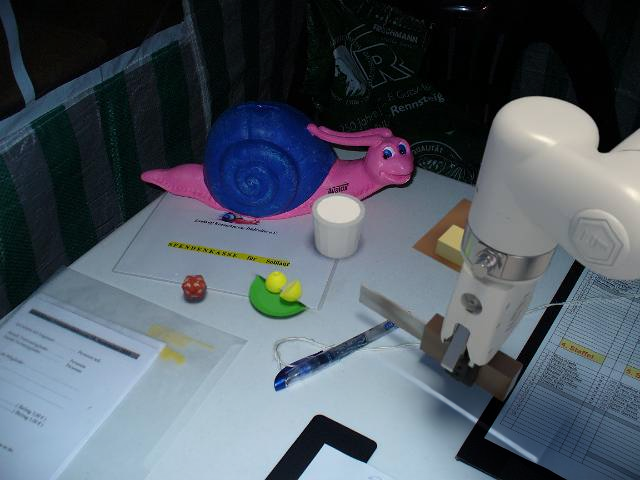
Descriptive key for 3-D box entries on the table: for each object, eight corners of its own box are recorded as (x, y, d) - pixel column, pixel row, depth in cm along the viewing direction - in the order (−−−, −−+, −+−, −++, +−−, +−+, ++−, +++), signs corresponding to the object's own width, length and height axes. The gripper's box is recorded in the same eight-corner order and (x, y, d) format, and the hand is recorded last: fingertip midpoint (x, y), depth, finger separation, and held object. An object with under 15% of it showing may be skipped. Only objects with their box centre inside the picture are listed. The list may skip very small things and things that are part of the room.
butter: (489, 258, 78) (494, 244, 77) (474, 274, 76) (478, 260, 74) (450, 237, 81) (453, 224, 80) (434, 253, 79) (437, 239, 77)
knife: (513, 386, 62) (523, 364, 59) (502, 402, 60) (512, 379, 57) (365, 295, 70) (368, 271, 67) (353, 307, 69) (355, 283, 66)
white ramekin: (349, 227, 84) (352, 187, 79) (370, 259, 79) (374, 219, 75) (304, 238, 82) (304, 198, 77) (322, 272, 77) (323, 231, 73)
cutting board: (538, 238, 83) (540, 233, 82) (490, 295, 75) (492, 290, 74) (462, 202, 88) (464, 197, 88) (410, 252, 80) (411, 247, 80)
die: (188, 284, 75) (185, 267, 73) (211, 288, 75) (209, 272, 73) (179, 301, 73) (176, 284, 71) (203, 305, 73) (200, 289, 71)
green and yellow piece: (324, 284, 76) (325, 269, 74) (294, 328, 70) (293, 313, 69) (270, 263, 78) (269, 248, 76) (236, 304, 73) (235, 288, 71)
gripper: (504, 320, 44) (458, 443, 57) (587, 214, 53) (532, 340, 66) (418, 272, 48) (393, 398, 60) (511, 180, 57) (472, 306, 69)
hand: (466, 367), depth 63 cm, fingers closed on knife, 2 cm apart
